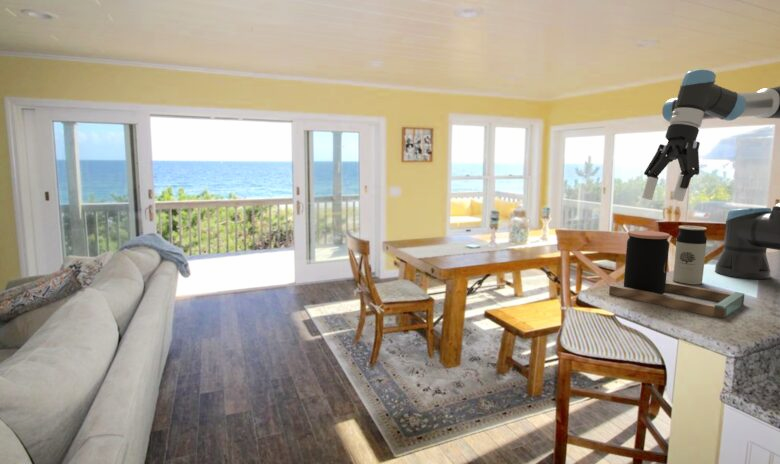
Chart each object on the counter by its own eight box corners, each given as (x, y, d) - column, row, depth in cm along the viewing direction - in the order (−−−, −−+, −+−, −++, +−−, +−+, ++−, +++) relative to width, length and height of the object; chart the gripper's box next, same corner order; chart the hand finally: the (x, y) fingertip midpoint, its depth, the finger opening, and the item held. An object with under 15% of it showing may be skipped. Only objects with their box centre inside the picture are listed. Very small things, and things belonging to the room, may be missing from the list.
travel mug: (680, 277, 151) (685, 224, 149) (706, 283, 145) (712, 227, 142) (667, 280, 147) (672, 226, 145) (694, 286, 141) (700, 229, 138)
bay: (609, 294, 132) (609, 284, 132) (634, 283, 144) (635, 274, 143) (723, 318, 111) (724, 306, 110) (743, 304, 122) (744, 293, 122)
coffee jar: (670, 299, 127) (676, 236, 124) (629, 297, 129) (634, 235, 127) (656, 289, 137) (661, 231, 135) (618, 287, 140) (623, 230, 137)
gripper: (645, 128, 139) (624, 195, 141) (704, 116, 114) (678, 196, 116) (667, 135, 140) (646, 201, 141) (731, 123, 115) (705, 204, 117)
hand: (661, 199), depth 129 cm, fingers open, 13 cm apart
